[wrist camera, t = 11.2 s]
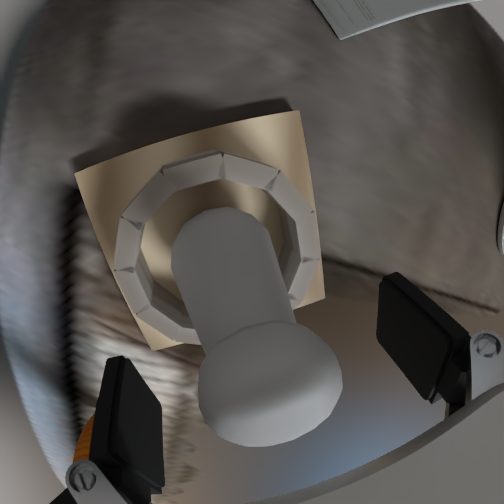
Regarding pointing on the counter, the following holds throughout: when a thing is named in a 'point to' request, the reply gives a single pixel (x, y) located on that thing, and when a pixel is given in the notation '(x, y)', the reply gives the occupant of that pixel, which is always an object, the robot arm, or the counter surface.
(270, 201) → the ring holder
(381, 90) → the counter surface
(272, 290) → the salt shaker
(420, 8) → the supplement box
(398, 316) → the robot arm
